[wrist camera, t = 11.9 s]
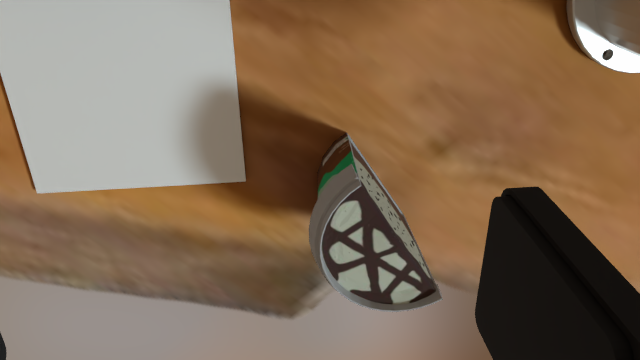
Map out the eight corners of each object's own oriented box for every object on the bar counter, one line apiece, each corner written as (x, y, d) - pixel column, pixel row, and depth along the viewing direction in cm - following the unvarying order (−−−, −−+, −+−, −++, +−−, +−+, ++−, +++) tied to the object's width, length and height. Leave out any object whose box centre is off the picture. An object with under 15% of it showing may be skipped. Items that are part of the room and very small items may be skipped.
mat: (226, -36, 35) (225, -35, 35) (245, 179, 43) (245, 181, 42) (-28, -29, 34) (-31, -28, 34) (39, 190, 42) (37, 193, 41)
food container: (271, 159, 42) (272, 229, 33) (336, 117, 41) (356, 178, 32) (352, 261, 48) (371, 344, 39) (412, 226, 46) (446, 303, 38)
